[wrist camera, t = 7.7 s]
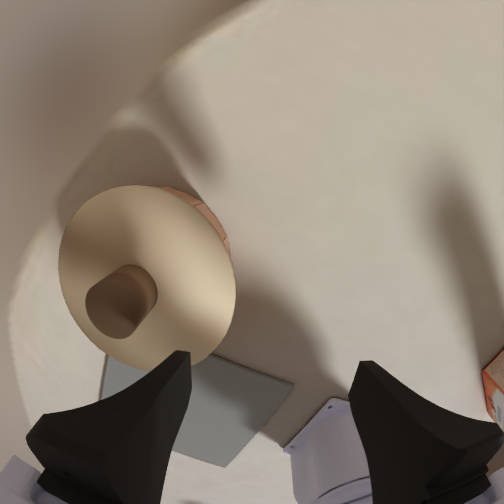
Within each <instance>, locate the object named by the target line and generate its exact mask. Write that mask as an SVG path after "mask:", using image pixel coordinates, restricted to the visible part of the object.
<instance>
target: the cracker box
mask: <svg viewBox="0 0 504 504" xmlns="http://www.w3.org/2000/svg"><path fill="white" fill-rule="evenodd" d="M482 375H483V381H484V387H485V394H486V401H487V410H488V414H489V415H490V417H491V418H492V419H493V421H494V422H495V423H497V424H498V425H499V426H500V427H501V429H502V430H503V432H504V349H503V350H502V351H501V352H500V353H499V354H498V355H497V356H496V358H495V359H494V360H493V361H492V362H491V363H490V364H489V365H488V366H487V367H485V368H484V369H483V370H482Z"/></svg>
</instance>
